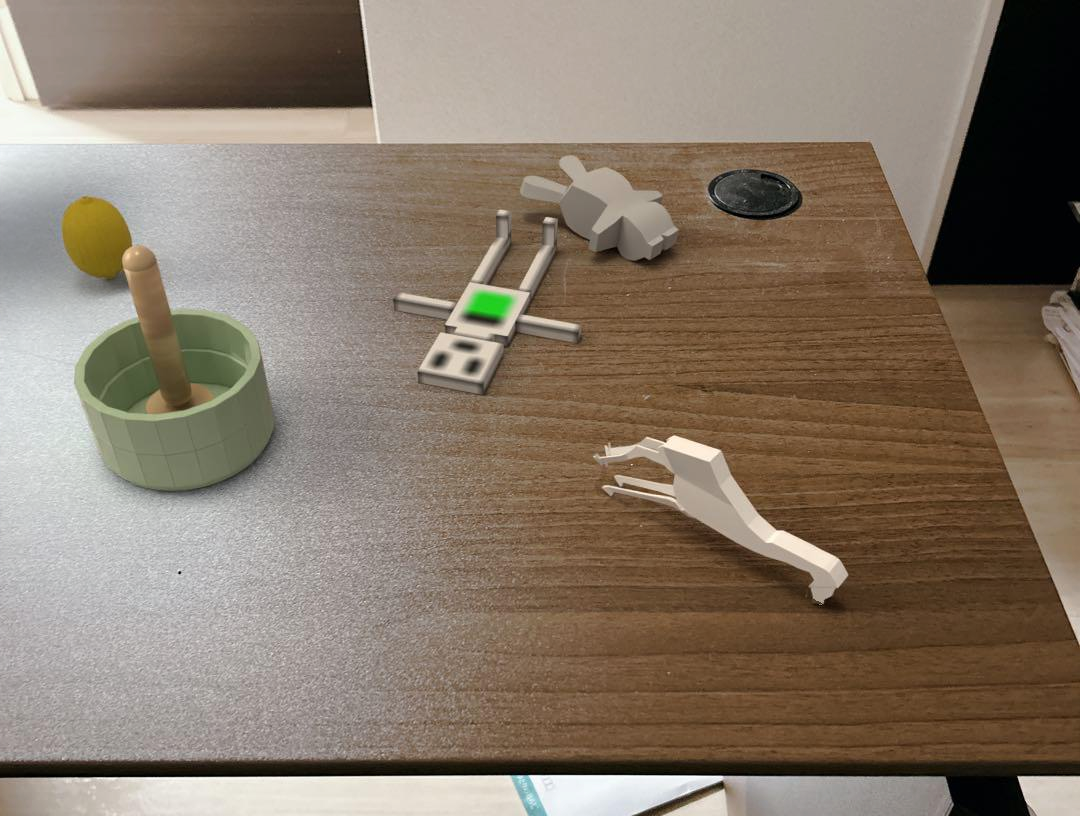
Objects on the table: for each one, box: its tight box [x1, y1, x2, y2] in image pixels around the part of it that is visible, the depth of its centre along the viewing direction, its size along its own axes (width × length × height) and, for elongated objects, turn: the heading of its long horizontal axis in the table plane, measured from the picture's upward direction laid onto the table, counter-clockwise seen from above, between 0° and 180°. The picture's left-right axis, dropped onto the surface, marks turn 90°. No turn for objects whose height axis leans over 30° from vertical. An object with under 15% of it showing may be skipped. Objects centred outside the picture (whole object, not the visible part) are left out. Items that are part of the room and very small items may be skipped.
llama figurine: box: [592, 435, 849, 605], centre depth 77 cm, size 2×11×18 cm
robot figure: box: [392, 209, 583, 396], centre depth 97 cm, size 16×3×22 cm
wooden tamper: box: [122, 244, 214, 414], centre depth 80 cm, size 5×5×16 cm
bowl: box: [73, 308, 275, 492], centre depth 84 cm, size 13×13×7 cm
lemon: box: [61, 195, 133, 281], centre depth 98 cm, size 6×6×8 cm
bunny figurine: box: [518, 154, 680, 261], centre depth 105 cm, size 10×5×15 cm
